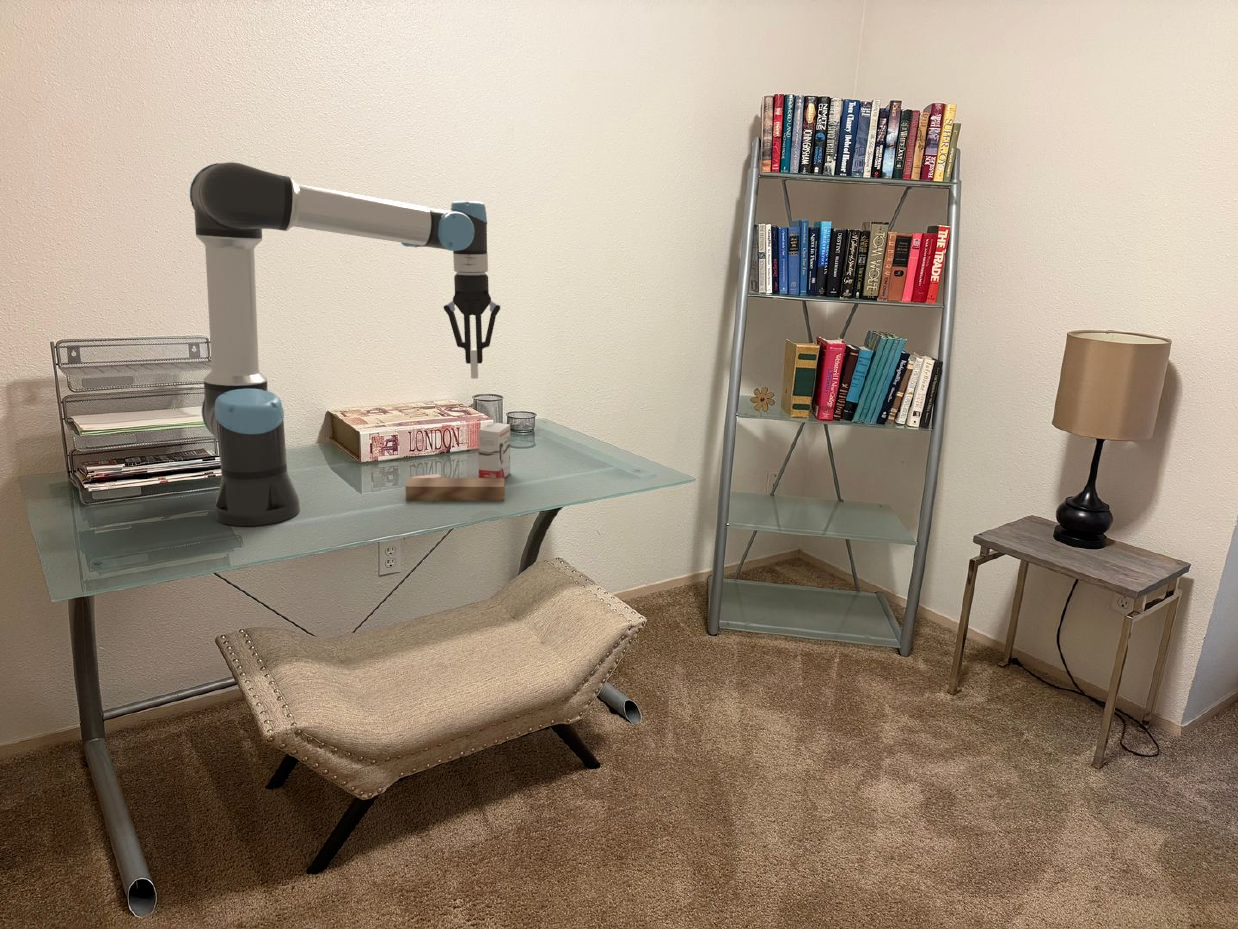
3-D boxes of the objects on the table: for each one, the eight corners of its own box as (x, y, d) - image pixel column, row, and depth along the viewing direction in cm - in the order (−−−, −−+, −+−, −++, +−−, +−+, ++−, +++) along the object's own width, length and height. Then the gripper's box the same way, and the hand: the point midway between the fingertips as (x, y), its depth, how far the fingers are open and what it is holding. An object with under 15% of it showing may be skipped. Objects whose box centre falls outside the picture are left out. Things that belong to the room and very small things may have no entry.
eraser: (415, 489, 187) (415, 480, 186) (411, 485, 189) (411, 477, 188) (442, 485, 190) (442, 476, 189) (437, 482, 192) (437, 473, 191)
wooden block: (405, 500, 178) (405, 486, 177) (409, 491, 184) (409, 477, 183) (503, 500, 180) (503, 486, 179) (504, 491, 186) (504, 478, 185)
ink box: (498, 483, 191) (498, 432, 188) (477, 481, 192) (477, 430, 189) (511, 472, 199) (511, 423, 196) (491, 471, 200) (490, 421, 197)
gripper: (440, 274, 189) (444, 380, 196) (500, 274, 190) (502, 380, 197) (442, 271, 196) (447, 374, 203) (500, 272, 197) (503, 374, 204)
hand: (474, 377), depth 200 cm, fingers closed
